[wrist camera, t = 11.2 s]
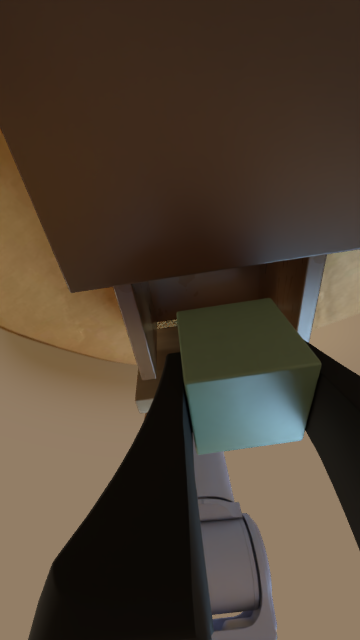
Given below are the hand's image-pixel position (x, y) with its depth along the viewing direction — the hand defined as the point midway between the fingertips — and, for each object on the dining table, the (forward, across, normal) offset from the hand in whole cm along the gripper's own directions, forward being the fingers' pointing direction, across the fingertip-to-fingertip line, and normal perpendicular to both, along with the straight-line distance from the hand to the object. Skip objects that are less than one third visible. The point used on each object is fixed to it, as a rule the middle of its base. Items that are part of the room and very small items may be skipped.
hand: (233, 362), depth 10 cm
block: (+1, 0, 0) cm, 1 cm away
